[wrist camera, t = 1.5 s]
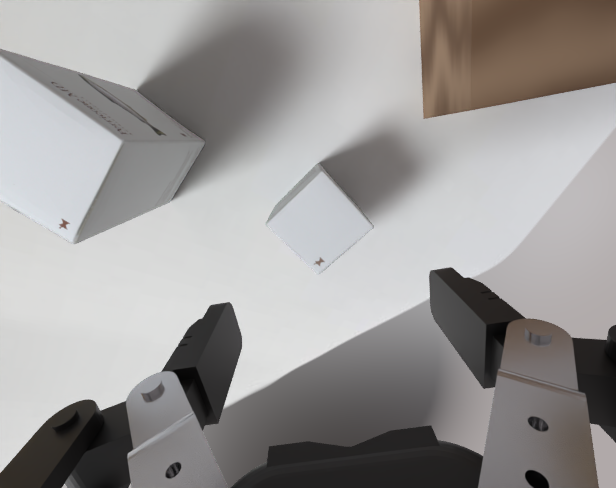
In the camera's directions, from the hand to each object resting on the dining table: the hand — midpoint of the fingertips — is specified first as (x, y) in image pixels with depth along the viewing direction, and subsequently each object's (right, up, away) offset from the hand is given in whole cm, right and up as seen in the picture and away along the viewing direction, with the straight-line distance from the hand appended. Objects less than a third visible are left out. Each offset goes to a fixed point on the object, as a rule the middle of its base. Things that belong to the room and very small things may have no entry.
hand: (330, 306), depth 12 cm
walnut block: (+14, +20, +12) cm, 27 cm away
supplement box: (-15, +11, +15) cm, 24 cm away
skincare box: (0, +6, +17) cm, 18 cm away
